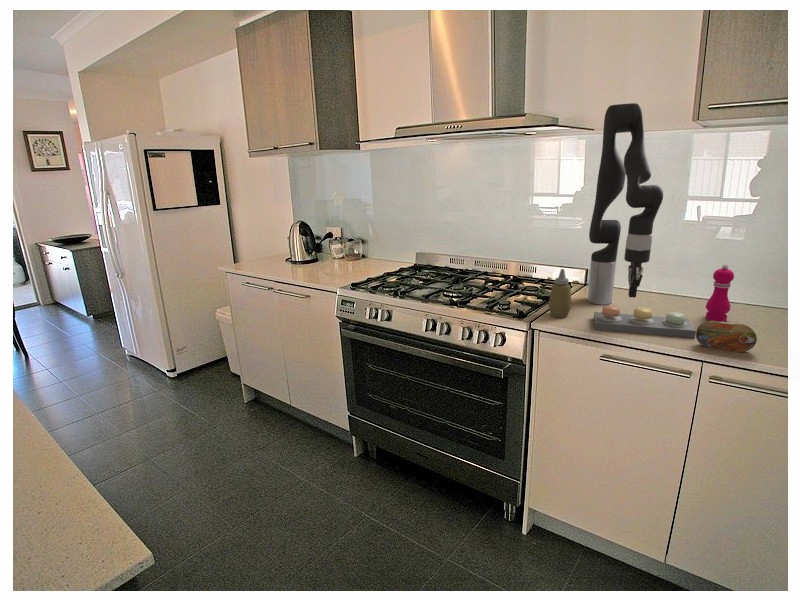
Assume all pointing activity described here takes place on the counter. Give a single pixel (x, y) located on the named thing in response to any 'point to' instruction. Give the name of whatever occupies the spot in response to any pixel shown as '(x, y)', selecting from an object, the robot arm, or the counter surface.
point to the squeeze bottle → (560, 297)
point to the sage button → (675, 318)
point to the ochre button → (642, 313)
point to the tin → (726, 336)
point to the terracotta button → (610, 311)
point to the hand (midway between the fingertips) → (632, 296)
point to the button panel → (643, 325)
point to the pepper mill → (720, 295)
